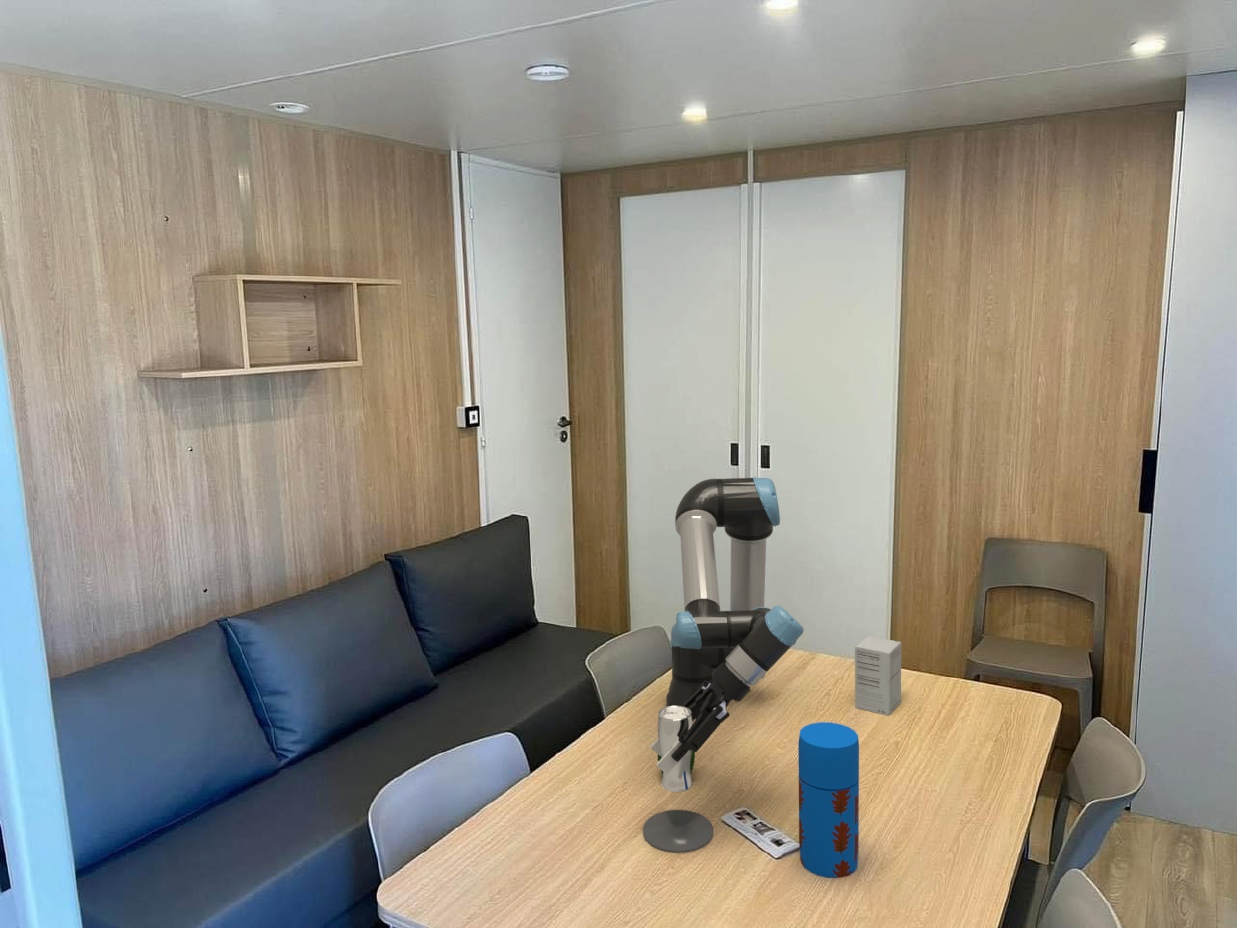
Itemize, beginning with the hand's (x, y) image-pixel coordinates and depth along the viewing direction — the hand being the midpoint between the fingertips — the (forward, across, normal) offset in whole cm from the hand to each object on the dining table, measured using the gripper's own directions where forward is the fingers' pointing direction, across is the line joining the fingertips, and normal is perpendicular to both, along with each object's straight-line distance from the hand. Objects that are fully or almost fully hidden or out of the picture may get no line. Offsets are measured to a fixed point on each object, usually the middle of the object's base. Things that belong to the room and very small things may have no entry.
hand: (658, 760), depth 174 cm
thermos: (-9, -14, -32) cm, 36 cm away
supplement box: (-35, +49, -57) cm, 83 cm away
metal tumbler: (+2, 0, -6) cm, 7 cm away
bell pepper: (+6, +22, -16) cm, 28 cm away
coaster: (+9, 0, -14) cm, 16 cm away
